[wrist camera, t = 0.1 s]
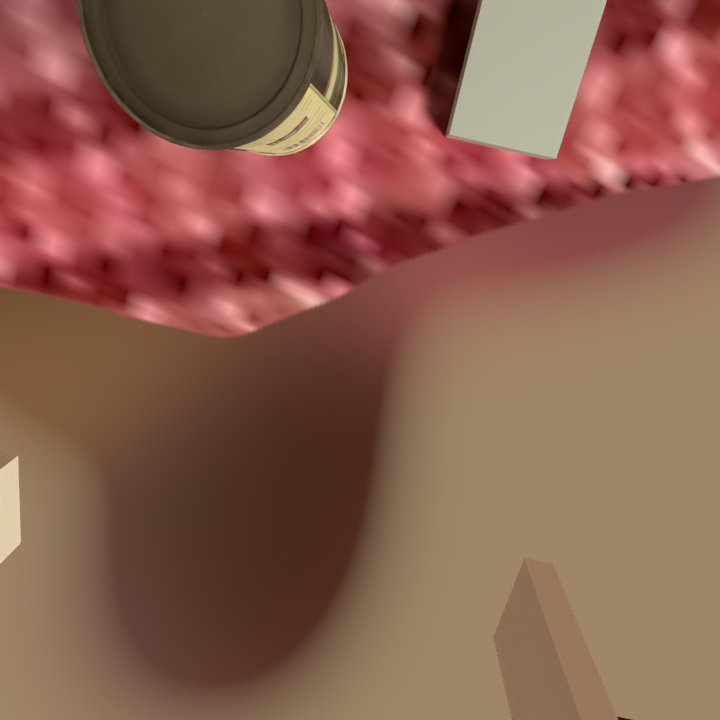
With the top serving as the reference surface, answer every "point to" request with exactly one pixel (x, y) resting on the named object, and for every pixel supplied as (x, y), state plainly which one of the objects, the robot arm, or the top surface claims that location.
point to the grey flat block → (523, 73)
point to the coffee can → (221, 69)
